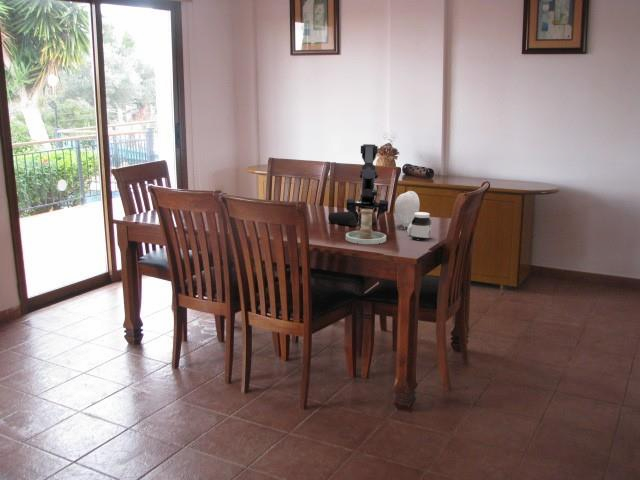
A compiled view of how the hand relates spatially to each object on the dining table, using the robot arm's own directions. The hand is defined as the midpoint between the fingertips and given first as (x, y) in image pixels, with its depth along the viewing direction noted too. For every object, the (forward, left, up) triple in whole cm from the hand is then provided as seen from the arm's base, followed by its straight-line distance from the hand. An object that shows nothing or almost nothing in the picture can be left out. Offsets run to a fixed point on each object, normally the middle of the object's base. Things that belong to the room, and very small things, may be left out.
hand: (366, 220), depth 315 cm
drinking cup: (+16, -35, -6) cm, 39 cm away
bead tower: (0, 0, -8) cm, 8 cm away
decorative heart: (-21, -28, -9) cm, 36 cm away
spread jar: (-24, -6, -9) cm, 26 cm away
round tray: (0, 0, -9) cm, 9 cm away
